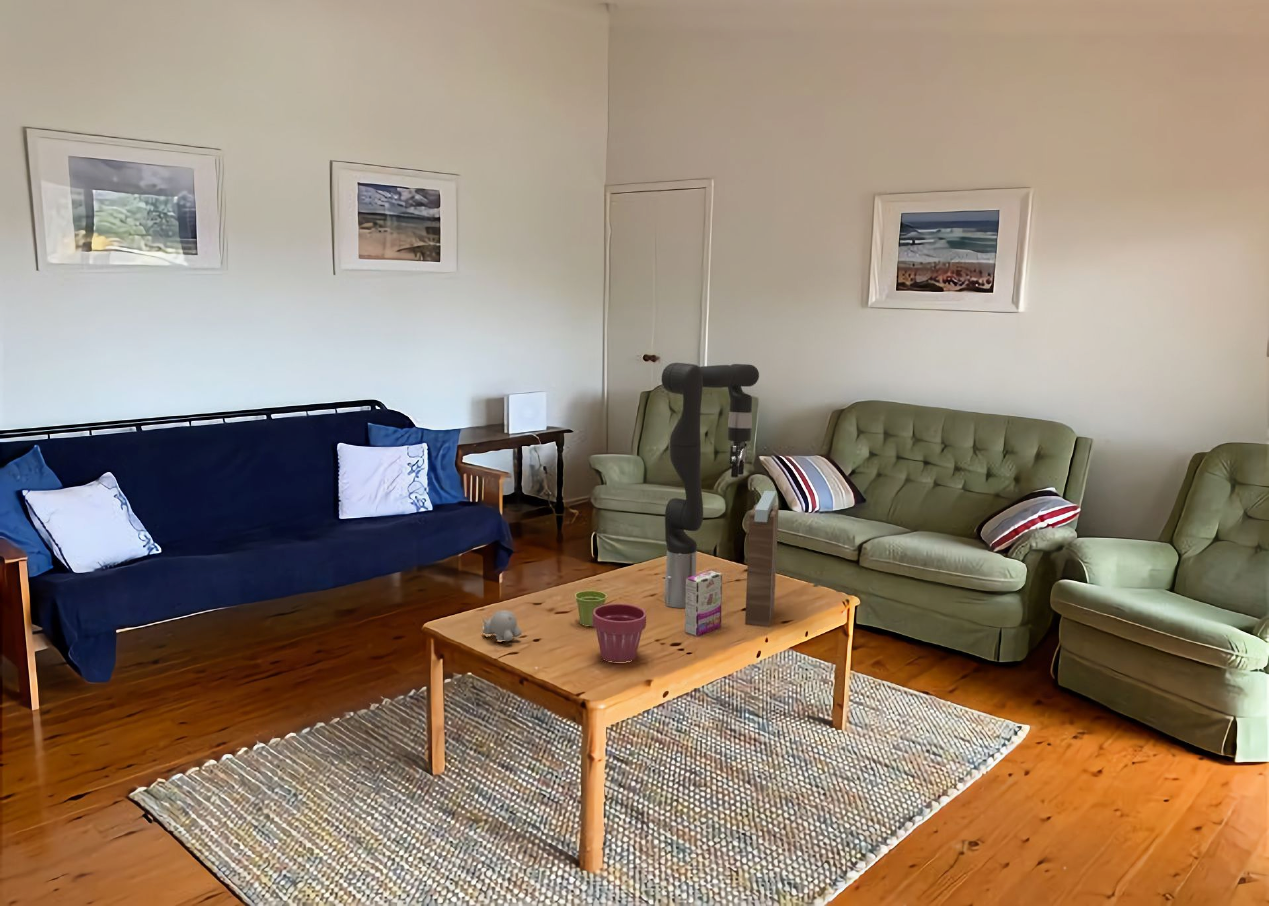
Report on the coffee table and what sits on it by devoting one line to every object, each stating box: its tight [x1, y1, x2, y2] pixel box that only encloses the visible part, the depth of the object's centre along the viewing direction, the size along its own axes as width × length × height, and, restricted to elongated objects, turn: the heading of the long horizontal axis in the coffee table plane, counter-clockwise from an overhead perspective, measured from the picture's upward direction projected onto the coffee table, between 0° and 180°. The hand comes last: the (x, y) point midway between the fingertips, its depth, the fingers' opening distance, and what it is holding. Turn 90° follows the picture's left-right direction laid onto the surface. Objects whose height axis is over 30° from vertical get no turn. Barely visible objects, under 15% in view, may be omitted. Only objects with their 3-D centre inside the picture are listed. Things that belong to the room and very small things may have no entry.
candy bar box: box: [684, 570, 723, 637], centre depth 275 cm, size 11×5×16 cm, turn 136°
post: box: [744, 503, 779, 628], centre depth 284 cm, size 14×7×33 cm, turn 166°
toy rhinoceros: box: [481, 609, 522, 642], centre depth 266 cm, size 7×12×8 cm, turn 55°
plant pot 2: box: [592, 603, 647, 662], centre depth 254 cm, size 14×14×13 cm
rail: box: [754, 490, 777, 522], centre depth 284 cm, size 26×4×4 cm, turn 166°
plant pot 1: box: [574, 590, 608, 627], centre depth 279 cm, size 9×9×9 cm
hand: (737, 475), depth 310 cm, fingers open, 8 cm apart
